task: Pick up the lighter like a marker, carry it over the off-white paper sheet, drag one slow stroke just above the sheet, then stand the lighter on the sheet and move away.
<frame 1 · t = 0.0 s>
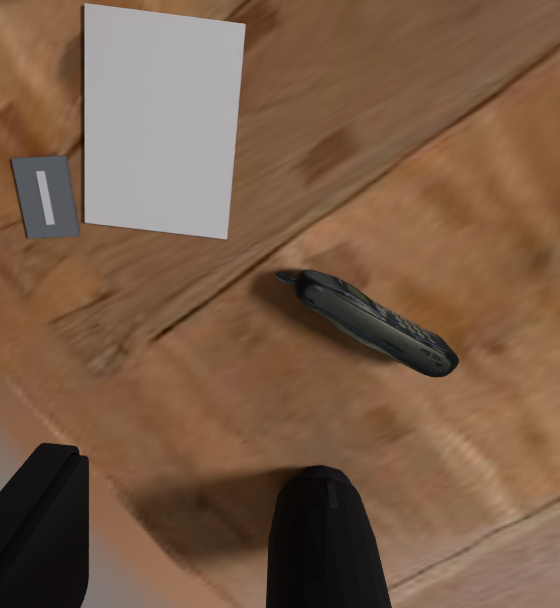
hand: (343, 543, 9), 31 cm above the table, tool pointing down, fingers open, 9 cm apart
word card: (47, 197, 38), on the table
paper: (161, 129, 36), on the table
portable speaker: (317, 498, 46), on the table
dark elongated piece: (360, 308, 40), on the table
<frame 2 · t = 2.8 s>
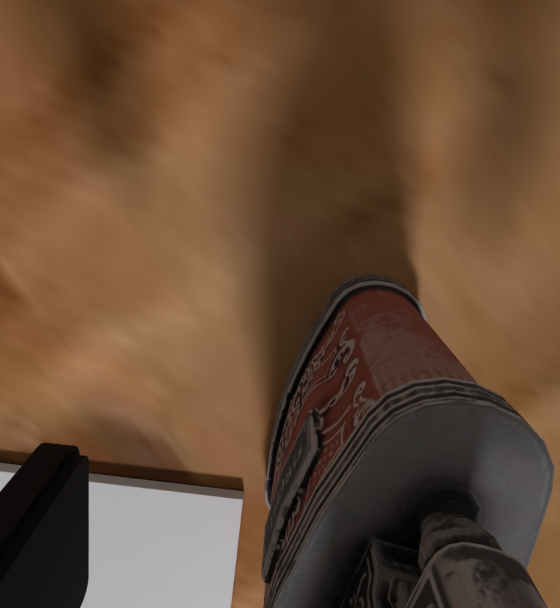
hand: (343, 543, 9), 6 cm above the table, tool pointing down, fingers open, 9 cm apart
paper: (15, 599, 17), on the table
lighter: (337, 398, 15), on the table
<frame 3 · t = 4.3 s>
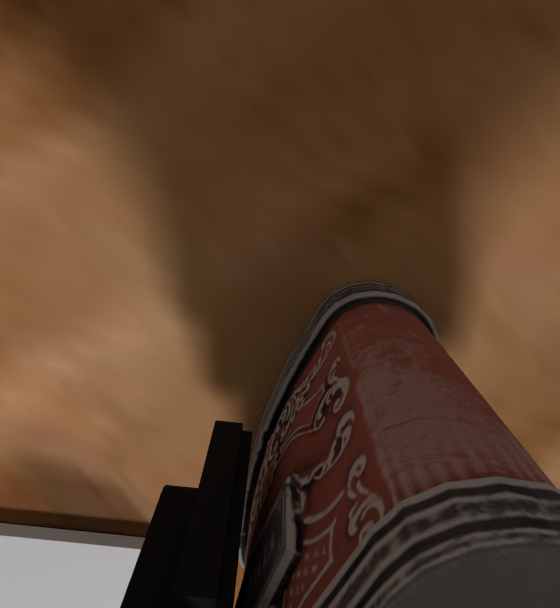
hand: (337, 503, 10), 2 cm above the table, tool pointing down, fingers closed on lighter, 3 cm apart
lighter: (327, 433, 12), on the table, touching gripper
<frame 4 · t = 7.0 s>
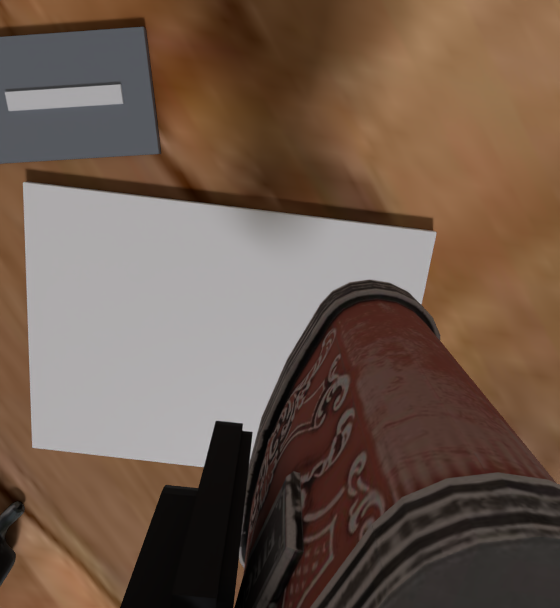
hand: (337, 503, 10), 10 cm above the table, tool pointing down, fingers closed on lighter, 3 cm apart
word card: (68, 99, 17), on the table
paper: (220, 344, 20), on the table
lighter: (327, 431, 12), point 8 cm above the table, touching gripper
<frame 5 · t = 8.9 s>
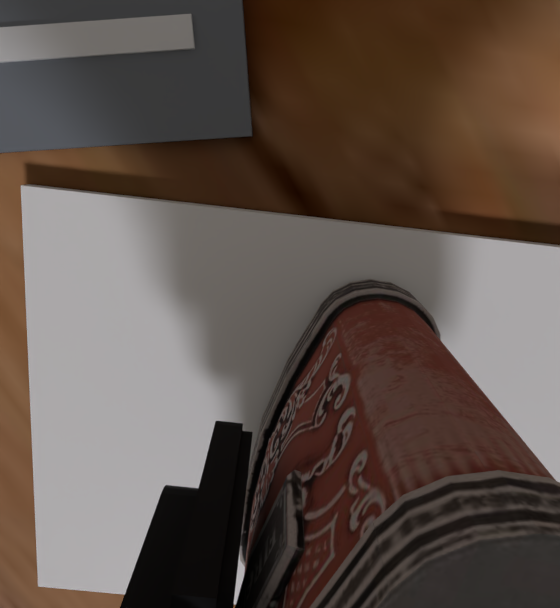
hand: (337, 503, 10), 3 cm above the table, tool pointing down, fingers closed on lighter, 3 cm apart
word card: (98, 42, 10), on the table
paper: (330, 434, 13), on the table
lighter: (328, 430, 12), point 1 cm above the table, touching gripper
when the fingers open (3 cm above the table, at t = 10.5 s): lighter stays where it is, resting on paper.
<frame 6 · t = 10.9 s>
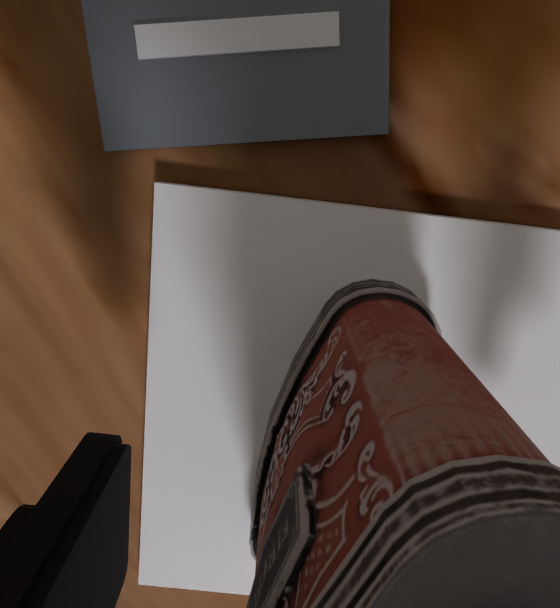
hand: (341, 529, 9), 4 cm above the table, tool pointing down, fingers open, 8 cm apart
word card: (238, 39, 10), on the table
paper: (439, 433, 13), on the table
lighter: (334, 426, 12), resting on paper
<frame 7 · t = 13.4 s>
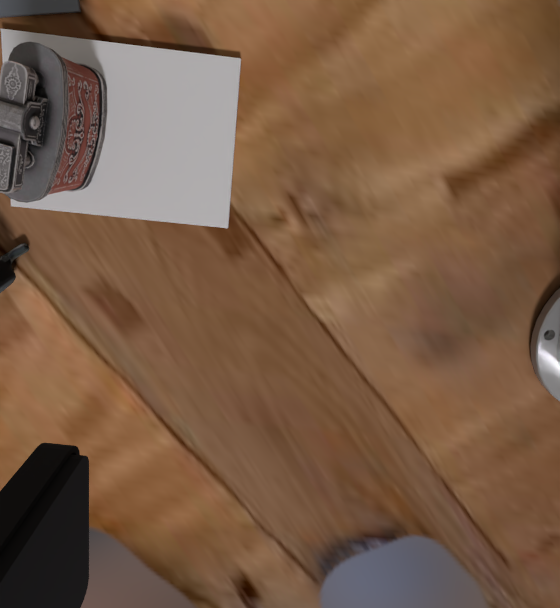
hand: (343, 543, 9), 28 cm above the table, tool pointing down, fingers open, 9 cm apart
paper: (123, 135, 33), on the table
lighter: (80, 130, 33), resting on paper
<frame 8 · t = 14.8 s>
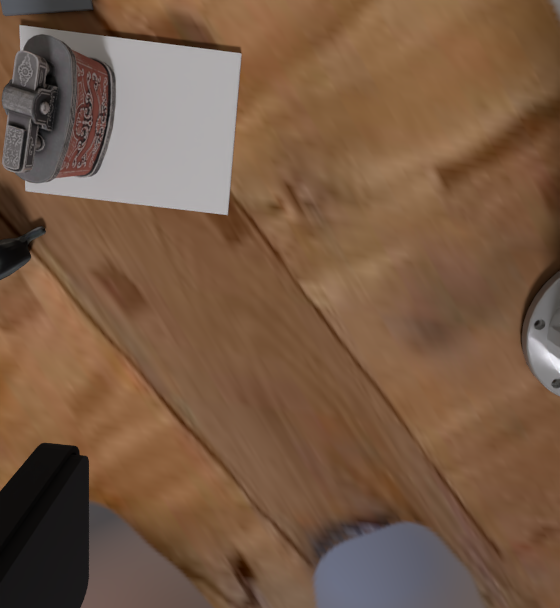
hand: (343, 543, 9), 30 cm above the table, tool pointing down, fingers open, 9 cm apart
paper: (130, 125, 35), on the table
lighter: (90, 120, 35), resting on paper
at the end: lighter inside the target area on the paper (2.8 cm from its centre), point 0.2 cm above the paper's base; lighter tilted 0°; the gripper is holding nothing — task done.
